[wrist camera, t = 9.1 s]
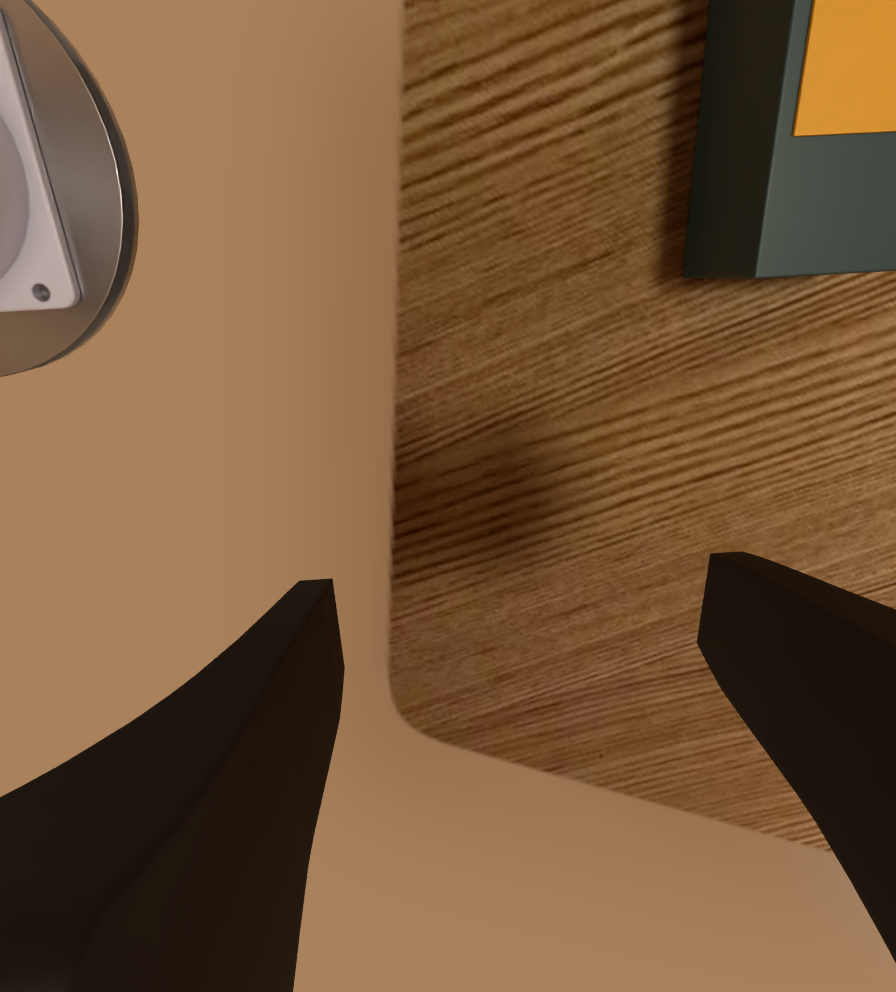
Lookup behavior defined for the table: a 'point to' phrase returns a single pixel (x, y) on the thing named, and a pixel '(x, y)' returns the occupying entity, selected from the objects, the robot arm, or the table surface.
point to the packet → (795, 141)
